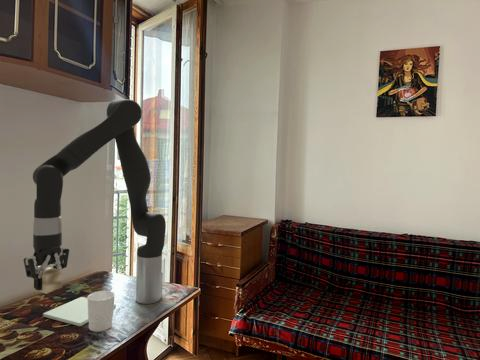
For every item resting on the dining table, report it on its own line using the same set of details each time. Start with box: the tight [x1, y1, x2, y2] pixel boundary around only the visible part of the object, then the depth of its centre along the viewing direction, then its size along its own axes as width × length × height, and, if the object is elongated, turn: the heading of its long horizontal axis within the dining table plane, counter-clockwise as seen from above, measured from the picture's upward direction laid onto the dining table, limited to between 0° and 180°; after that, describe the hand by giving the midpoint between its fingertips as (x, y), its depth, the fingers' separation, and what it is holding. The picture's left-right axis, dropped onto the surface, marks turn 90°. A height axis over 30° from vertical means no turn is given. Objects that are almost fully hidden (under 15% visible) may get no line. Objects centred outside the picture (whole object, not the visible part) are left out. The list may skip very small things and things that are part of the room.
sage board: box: [42, 296, 117, 327], centre depth 118 cm, size 16×16×1 cm
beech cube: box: [32, 266, 63, 295], centre depth 104 cm, size 6×6×6 cm
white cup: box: [86, 290, 115, 333], centre depth 107 cm, size 8×8×10 cm
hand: (47, 286), depth 104 cm, fingers closed on beech cube, 5 cm apart
